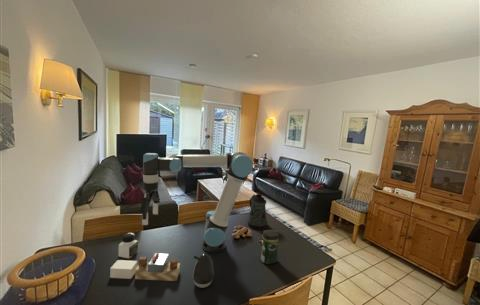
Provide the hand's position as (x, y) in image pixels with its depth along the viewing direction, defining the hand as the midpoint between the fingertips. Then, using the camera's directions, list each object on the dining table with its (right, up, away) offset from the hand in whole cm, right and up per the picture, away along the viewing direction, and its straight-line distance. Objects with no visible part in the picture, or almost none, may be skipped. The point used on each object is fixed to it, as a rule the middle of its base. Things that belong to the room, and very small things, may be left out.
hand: (150, 219), depth 114 cm
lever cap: (+9, -20, -11) cm, 24 cm away
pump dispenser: (+31, -28, -13) cm, 44 cm away
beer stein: (+62, -23, +55) cm, 86 cm away
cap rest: (-9, -24, -11) cm, 28 cm away
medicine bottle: (-15, -22, +5) cm, 27 cm away
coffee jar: (+67, -28, +9) cm, 73 cm away
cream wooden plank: (+8, -25, -10) cm, 28 cm away
